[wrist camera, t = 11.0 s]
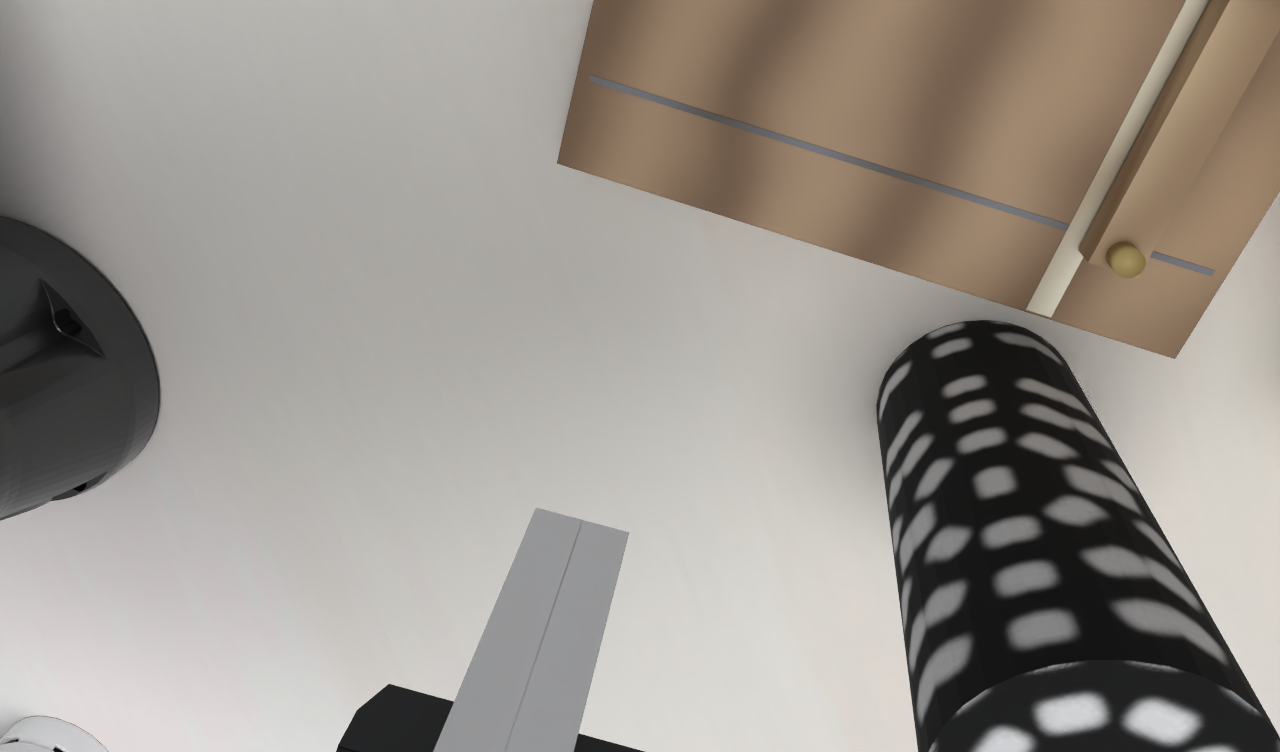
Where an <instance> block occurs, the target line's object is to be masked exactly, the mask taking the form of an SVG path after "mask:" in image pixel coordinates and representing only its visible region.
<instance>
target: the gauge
mask: <svg viewBox="0 0 1280 752" xmlns="http://www.w3.org/2000/svg"><path fill="white" fill-rule="evenodd" d="M1279 30H1280V0H1211V1H1210V3H1209V5H1208V6H1207V8H1206V10H1205V12H1204V14H1203V16H1202V18H1201V20H1200V21H1199V23H1198V25H1197V27H1196V29H1195V31H1194V33H1193V35H1192V37H1191V38H1190V40H1189V42H1188V44H1187V46H1186V48H1185V50H1184V52H1183V54H1182V55H1181V57H1180V59H1179V61H1178V63H1177V65H1176V67H1175V69H1174V71H1173V72H1172V74H1171V76H1170V78H1169V80H1168V82H1167V84H1166V86H1165V88H1164V89H1163V91H1162V93H1161V95H1160V97H1159V99H1158V101H1157V103H1156V104H1155V106H1154V108H1153V110H1152V112H1151V114H1150V116H1149V118H1148V120H1147V121H1146V123H1145V125H1144V127H1143V129H1142V131H1141V133H1140V135H1139V137H1138V138H1137V140H1136V142H1135V144H1134V146H1133V148H1132V150H1131V152H1130V154H1129V155H1128V157H1127V159H1126V161H1125V163H1124V165H1123V167H1122V169H1121V170H1120V172H1119V174H1118V176H1117V178H1116V180H1115V182H1114V184H1113V186H1112V187H1111V189H1110V191H1109V193H1108V195H1107V197H1106V199H1105V201H1104V203H1103V204H1102V206H1101V208H1100V210H1099V212H1098V214H1097V216H1096V218H1095V220H1094V221H1093V223H1092V225H1091V227H1090V229H1089V231H1088V233H1087V235H1086V237H1085V238H1084V240H1083V242H1082V244H1081V246H1080V248H1079V250H1078V251H1079V252H1080V253H1081V254H1082V256H1083V257H1084V258H1085V259H1086V261H1087V262H1088V263H1090V264H1094V265H1097V266H1100V267H1103V268H1106V269H1110V270H1113V271H1115V273H1116V274H1117V275H1118V276H1120V277H1122V278H1133V277H1135V278H1138V276H1139V275H1140V273H1141V272H1142V271H1143V270H1144V268H1145V266H1146V262H1147V261H1148V259H1149V257H1150V255H1151V254H1152V252H1153V250H1154V248H1155V247H1156V245H1157V243H1158V241H1159V240H1160V238H1161V236H1162V234H1163V233H1164V231H1165V229H1166V227H1167V226H1168V224H1169V222H1170V220H1171V219H1172V217H1173V215H1174V213H1175V212H1176V210H1177V208H1178V206H1179V205H1180V203H1181V201H1182V199H1183V198H1184V196H1185V194H1186V192H1187V191H1188V189H1189V187H1190V185H1191V184H1192V182H1193V180H1194V178H1195V177H1196V175H1197V173H1198V171H1199V170H1200V168H1201V166H1202V164H1203V163H1204V161H1205V159H1206V157H1207V156H1208V154H1209V152H1210V150H1211V149H1212V147H1213V145H1214V143H1215V142H1216V140H1217V138H1218V136H1219V135H1220V133H1221V131H1222V130H1223V128H1224V126H1225V124H1226V123H1227V121H1228V119H1229V117H1230V116H1231V114H1232V112H1233V110H1234V109H1235V107H1236V105H1237V103H1238V102H1239V100H1240V98H1241V96H1242V95H1243V93H1244V91H1245V89H1246V88H1247V86H1248V84H1249V82H1250V81H1251V79H1252V77H1253V75H1254V74H1255V72H1256V70H1257V68H1258V67H1259V65H1260V63H1261V61H1262V60H1263V58H1264V56H1265V54H1266V53H1267V51H1268V49H1269V47H1270V46H1271V44H1272V42H1273V40H1274V39H1275V37H1276V35H1277V33H1278V32H1279Z"/></svg>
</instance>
